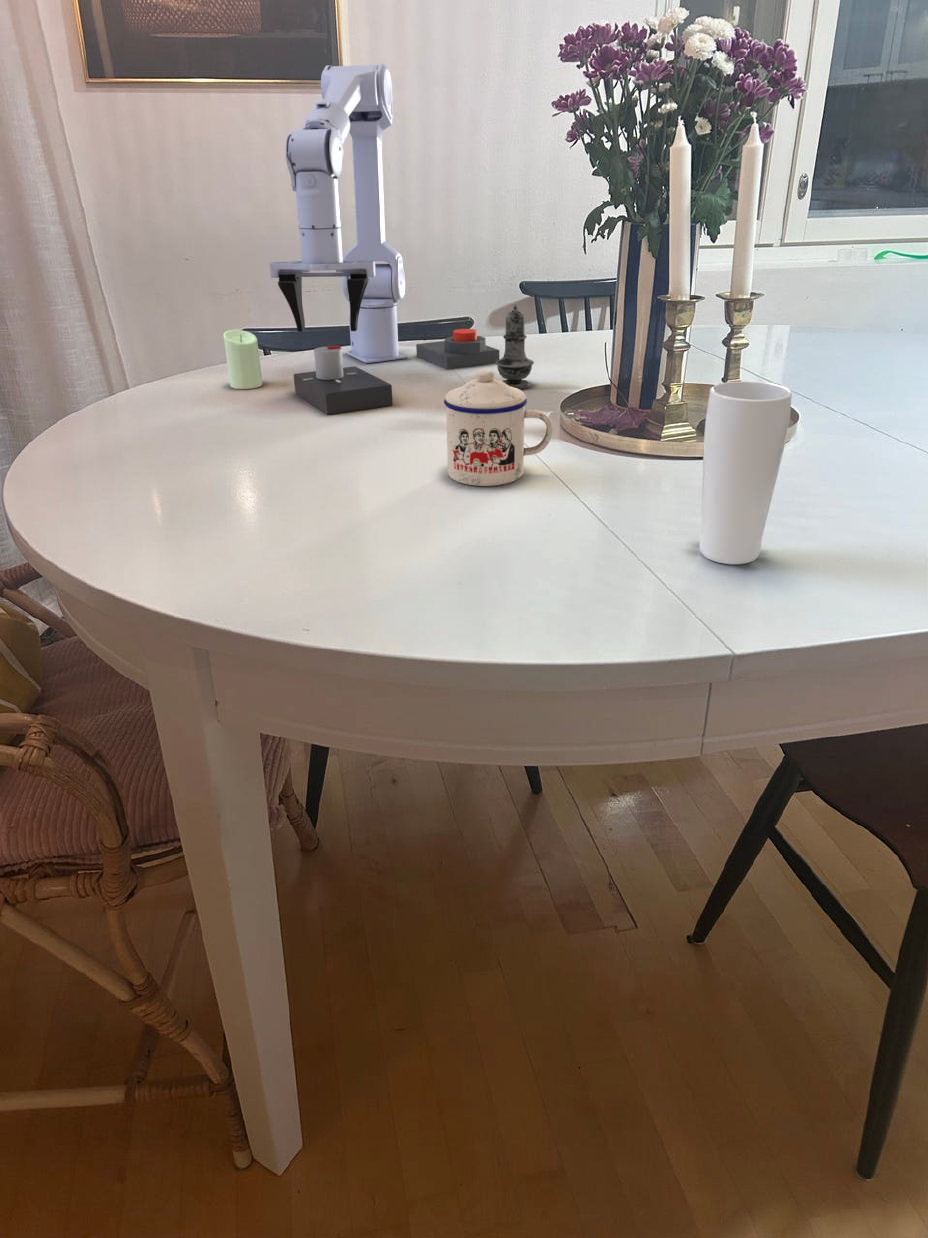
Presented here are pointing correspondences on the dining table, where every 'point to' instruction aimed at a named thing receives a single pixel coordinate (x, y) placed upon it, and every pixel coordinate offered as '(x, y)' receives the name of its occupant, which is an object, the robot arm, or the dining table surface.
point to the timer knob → (328, 362)
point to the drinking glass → (741, 466)
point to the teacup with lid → (488, 431)
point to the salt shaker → (515, 352)
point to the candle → (242, 359)
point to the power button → (465, 335)
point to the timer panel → (344, 391)
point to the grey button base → (458, 353)
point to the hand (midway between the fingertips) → (327, 330)
